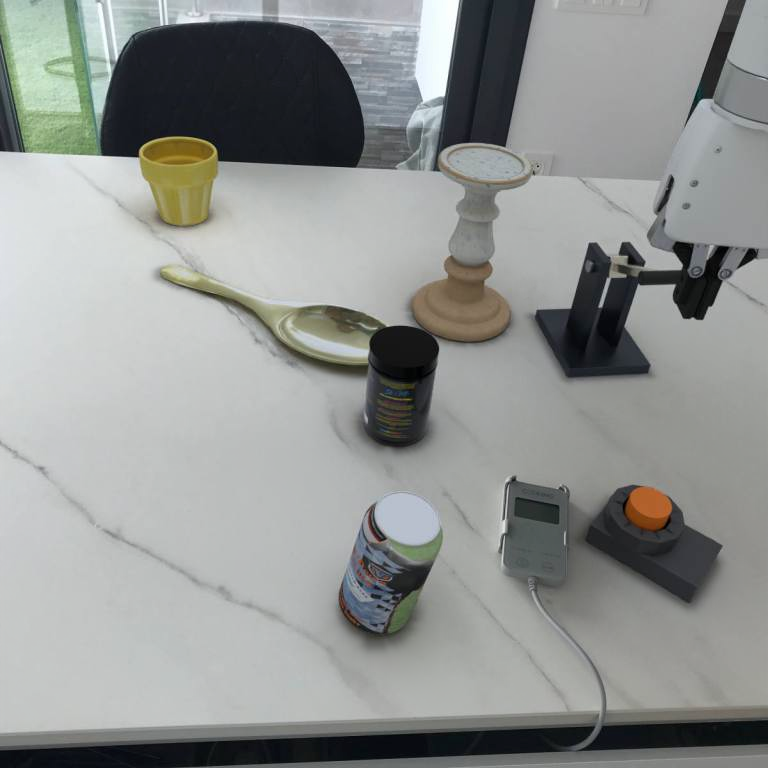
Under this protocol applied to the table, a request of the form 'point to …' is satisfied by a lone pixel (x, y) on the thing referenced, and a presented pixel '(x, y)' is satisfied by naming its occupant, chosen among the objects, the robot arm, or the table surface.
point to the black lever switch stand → (596, 321)
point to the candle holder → (471, 245)
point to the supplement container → (400, 384)
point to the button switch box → (655, 546)
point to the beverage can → (390, 562)
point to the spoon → (298, 320)
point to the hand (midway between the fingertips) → (688, 310)
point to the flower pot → (180, 177)
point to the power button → (648, 508)
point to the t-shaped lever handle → (640, 272)
